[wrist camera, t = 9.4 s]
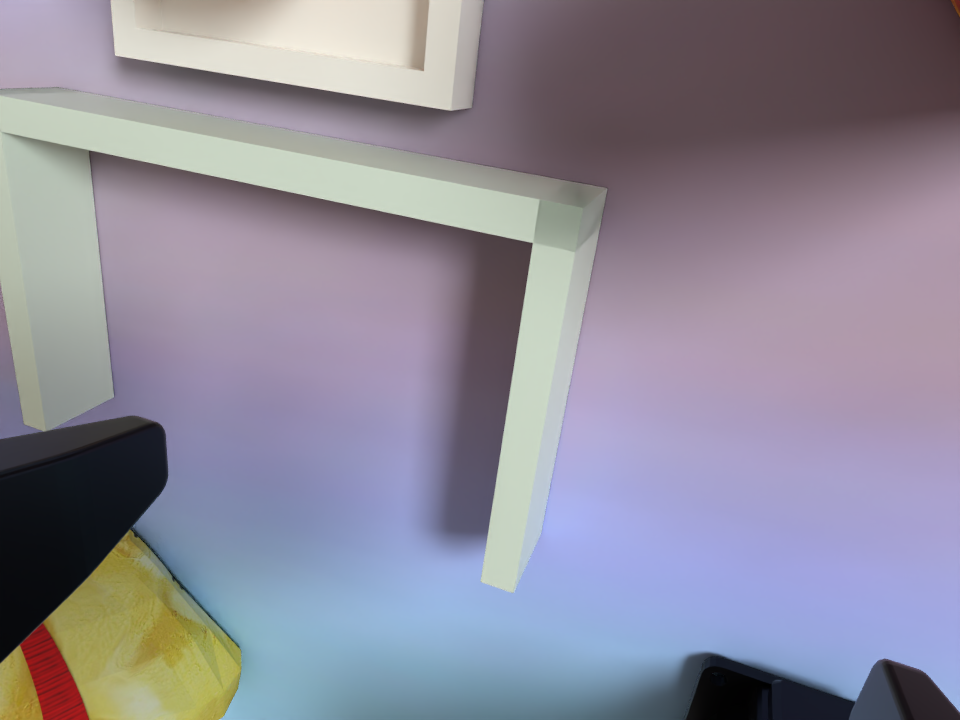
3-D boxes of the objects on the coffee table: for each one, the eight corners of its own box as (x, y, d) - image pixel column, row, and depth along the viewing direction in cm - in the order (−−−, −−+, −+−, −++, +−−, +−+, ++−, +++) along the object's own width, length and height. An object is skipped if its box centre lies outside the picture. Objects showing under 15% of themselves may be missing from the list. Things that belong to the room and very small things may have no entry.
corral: (541, 533, 23) (513, 593, 20) (93, 390, 28) (24, 424, 25) (607, 188, 18) (583, 207, 16) (58, 87, 23) (-32, 89, 20)
